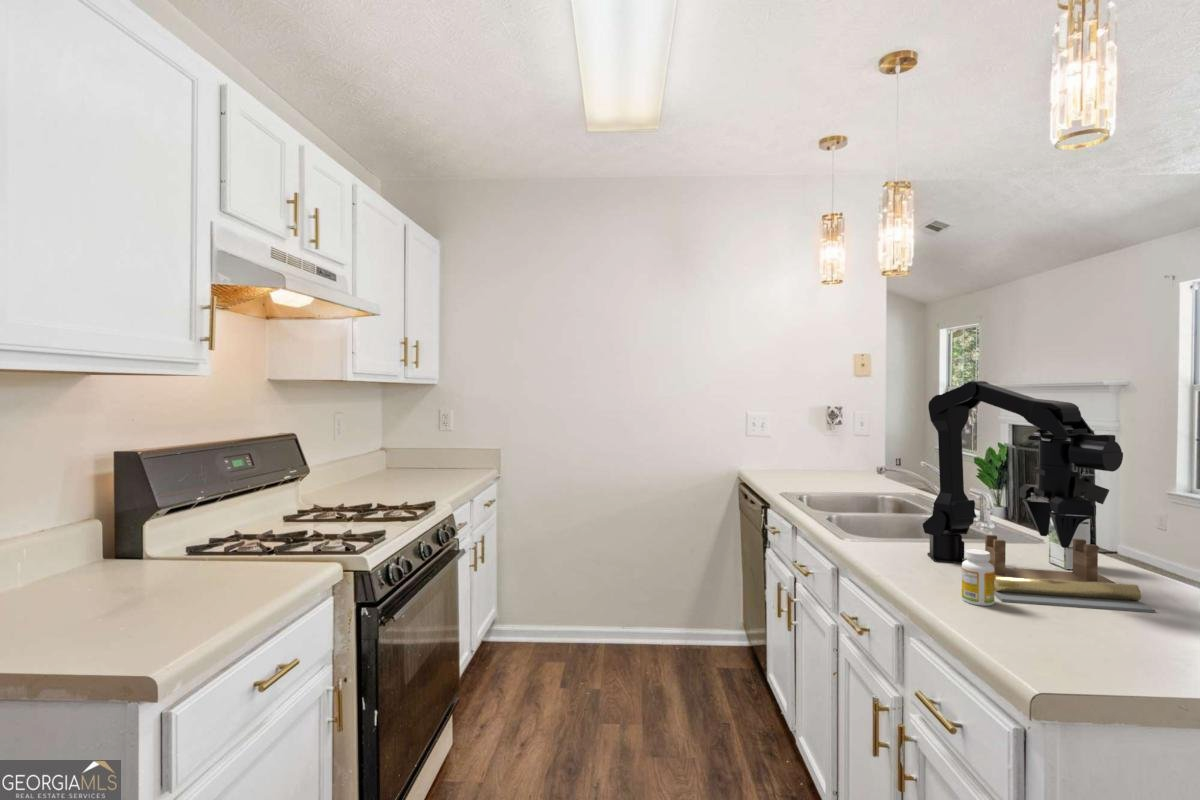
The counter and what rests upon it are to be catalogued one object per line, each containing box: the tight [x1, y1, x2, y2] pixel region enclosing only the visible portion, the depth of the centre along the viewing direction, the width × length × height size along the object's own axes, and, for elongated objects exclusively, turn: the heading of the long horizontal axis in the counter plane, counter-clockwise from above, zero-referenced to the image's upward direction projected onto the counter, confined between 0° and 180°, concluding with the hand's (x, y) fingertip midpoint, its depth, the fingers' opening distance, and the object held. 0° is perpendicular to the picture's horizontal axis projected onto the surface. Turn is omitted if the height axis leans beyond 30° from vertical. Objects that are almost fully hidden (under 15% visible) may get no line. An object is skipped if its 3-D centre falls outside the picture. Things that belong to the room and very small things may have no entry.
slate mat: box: [994, 590, 1157, 613], centre depth 120 cm, size 25×10×1 cm, turn 76°
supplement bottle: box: [961, 548, 995, 607], centre depth 118 cm, size 5×5×10 cm
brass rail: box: [994, 576, 1142, 601], centre depth 120 cm, size 24×3×3 cm, turn 76°
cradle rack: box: [984, 534, 1116, 583], centre depth 132 cm, size 25×7×8 cm, turn 76°
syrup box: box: [1048, 511, 1091, 570], centre depth 141 cm, size 6×6×14 cm
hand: (1053, 541), depth 123 cm, fingers open, 9 cm apart
